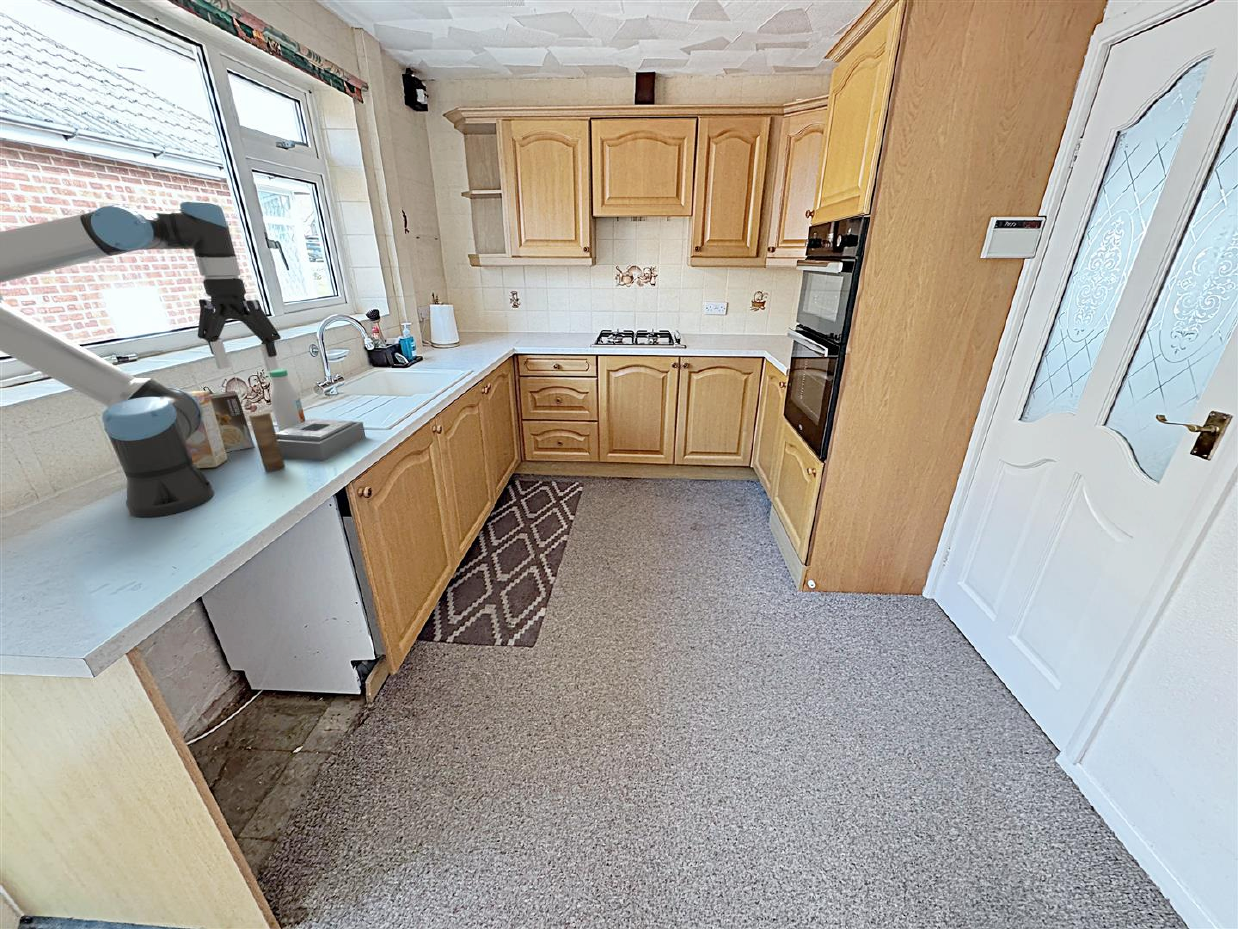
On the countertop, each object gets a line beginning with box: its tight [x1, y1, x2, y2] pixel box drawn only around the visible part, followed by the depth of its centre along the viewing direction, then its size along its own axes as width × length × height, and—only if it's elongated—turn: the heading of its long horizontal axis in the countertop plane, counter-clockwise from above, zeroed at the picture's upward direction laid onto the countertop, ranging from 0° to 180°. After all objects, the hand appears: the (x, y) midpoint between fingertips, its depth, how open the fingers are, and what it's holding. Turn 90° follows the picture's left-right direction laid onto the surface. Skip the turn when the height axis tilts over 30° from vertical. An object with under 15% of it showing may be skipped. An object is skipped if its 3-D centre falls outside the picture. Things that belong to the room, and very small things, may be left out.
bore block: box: [275, 418, 353, 442], centre depth 147 cm, size 14×14×5 cm
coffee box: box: [209, 390, 255, 453], centre depth 144 cm, size 9×6×16 cm
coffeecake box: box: [186, 390, 228, 469], centre depth 131 cm, size 15×7×20 cm, turn 105°
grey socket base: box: [277, 420, 366, 461], centre depth 148 cm, size 19×17×5 cm
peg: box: [248, 411, 286, 473], centre depth 131 cm, size 4×4×15 cm
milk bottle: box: [268, 368, 306, 432], centre depth 155 cm, size 8×8×20 cm
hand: (248, 369), depth 124 cm, fingers open, 13 cm apart
